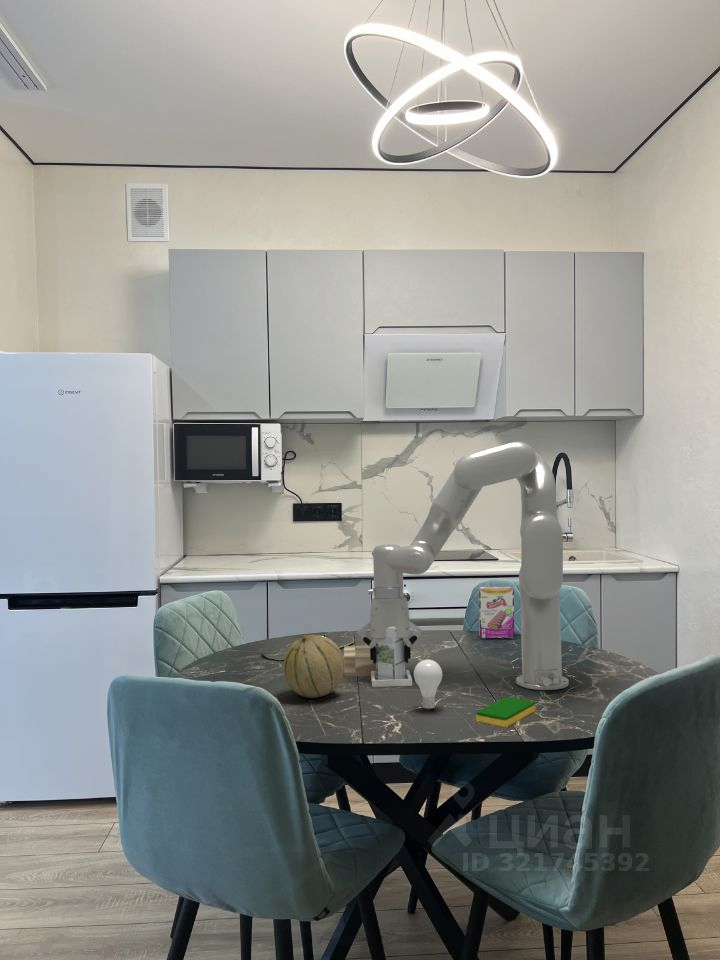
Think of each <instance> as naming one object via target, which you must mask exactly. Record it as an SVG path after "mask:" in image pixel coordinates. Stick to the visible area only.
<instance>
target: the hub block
mask: <svg viewBox="0 0 720 960" xmlns="http://www.w3.org/2000/svg"><path fill="white" fill-rule="evenodd" d="M375 647H376V644H375ZM343 657H344V662H345V669H344V675H343V677H344V676H345V677H368V676H369V677H371V671H376V663H375V664H373V660H370V647H369V646H368V645H350V646H344V648H343Z"/></svg>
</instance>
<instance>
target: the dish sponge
mask: <svg viewBox="0 0 720 960" xmlns="http://www.w3.org/2000/svg"><path fill="white" fill-rule="evenodd" d="M534 712H536V702H535V701H533V700H527V699H522V698H515V697H509V696H506V697H504V698H501V699H499V700H498V701H495V702H493V703H491V704H489V705H487V706H486V707H484V708H482V709H479V710H477V711H476V712H475V714H476V716H475V719H476V722H478V723H484V724H488V725H492V726H496V727H502V728H508V727H509V726H511V725H513V724H515V723H516V722H518V721H521V720H522V719H524V718H525V717H528V716H529V715H531V714H533V713H534Z"/></svg>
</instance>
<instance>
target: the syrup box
mask: <svg viewBox="0 0 720 960" xmlns="http://www.w3.org/2000/svg"><path fill="white" fill-rule="evenodd" d="M375 645H376V677H375V678H376V680H390V679H407V677H406V676H405V670H406V662H405V642H404V640H403V639H397V629H396V627H388V628H386V639H378V640H377V642H376V644H375Z"/></svg>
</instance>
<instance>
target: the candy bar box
mask: <svg viewBox="0 0 720 960" xmlns="http://www.w3.org/2000/svg"><path fill="white" fill-rule="evenodd" d="M514 593H515V590H514V588H513V587H512V586H478V634H479V635H478V636H480V637H479V639H480V638H496V637H514V638H515V599H514V598H515V595H514Z"/></svg>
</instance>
